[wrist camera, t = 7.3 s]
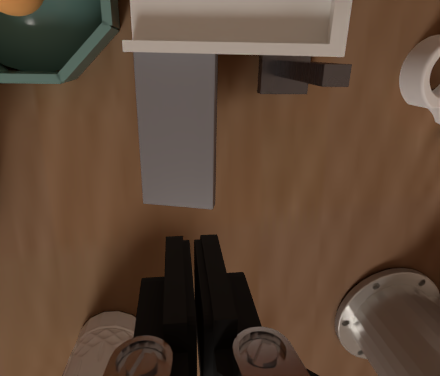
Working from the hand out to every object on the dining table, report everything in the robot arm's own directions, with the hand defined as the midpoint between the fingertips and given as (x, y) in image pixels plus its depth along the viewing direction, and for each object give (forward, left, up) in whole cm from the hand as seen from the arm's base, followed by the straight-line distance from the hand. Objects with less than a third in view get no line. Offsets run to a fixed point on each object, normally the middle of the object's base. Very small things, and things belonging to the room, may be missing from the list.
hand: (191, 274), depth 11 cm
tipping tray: (-3, -6, -12) cm, 14 cm away
